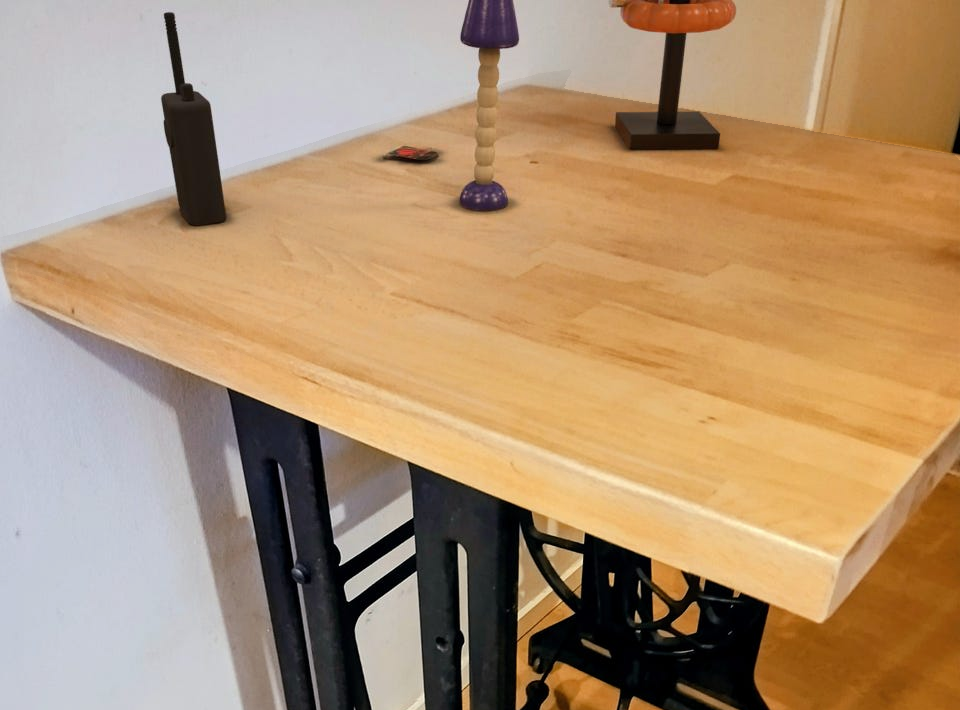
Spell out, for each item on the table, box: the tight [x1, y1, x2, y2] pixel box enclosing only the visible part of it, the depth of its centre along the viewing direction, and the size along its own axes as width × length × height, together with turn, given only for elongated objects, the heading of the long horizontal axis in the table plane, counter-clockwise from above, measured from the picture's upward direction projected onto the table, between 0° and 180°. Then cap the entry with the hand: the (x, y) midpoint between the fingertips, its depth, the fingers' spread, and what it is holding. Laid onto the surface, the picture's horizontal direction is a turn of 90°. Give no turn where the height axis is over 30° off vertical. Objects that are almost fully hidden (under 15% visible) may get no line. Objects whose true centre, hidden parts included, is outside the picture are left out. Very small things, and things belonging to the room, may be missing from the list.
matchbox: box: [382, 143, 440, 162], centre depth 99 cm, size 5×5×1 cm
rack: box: [614, 0, 721, 151], centre depth 102 cm, size 9×9×14 cm
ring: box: [619, 0, 737, 34], centre depth 99 cm, size 11×11×2 cm
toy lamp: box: [458, 0, 520, 212], centre depth 83 cm, size 5×5×17 cm
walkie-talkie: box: [160, 11, 227, 226], centre depth 81 cm, size 5×3×15 cm
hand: (635, 6), depth 98 cm, fingers closed on ring, 2 cm apart
